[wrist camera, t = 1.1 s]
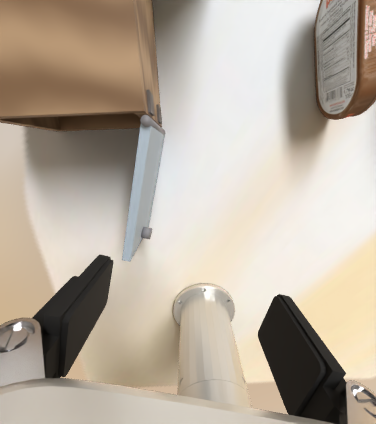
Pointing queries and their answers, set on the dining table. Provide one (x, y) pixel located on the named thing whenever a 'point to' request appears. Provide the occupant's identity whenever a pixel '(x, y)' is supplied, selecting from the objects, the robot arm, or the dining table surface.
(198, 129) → the dining table surface
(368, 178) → the dining table surface
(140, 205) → the door
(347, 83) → the tin
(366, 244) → the dining table surface
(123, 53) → the cabinet
